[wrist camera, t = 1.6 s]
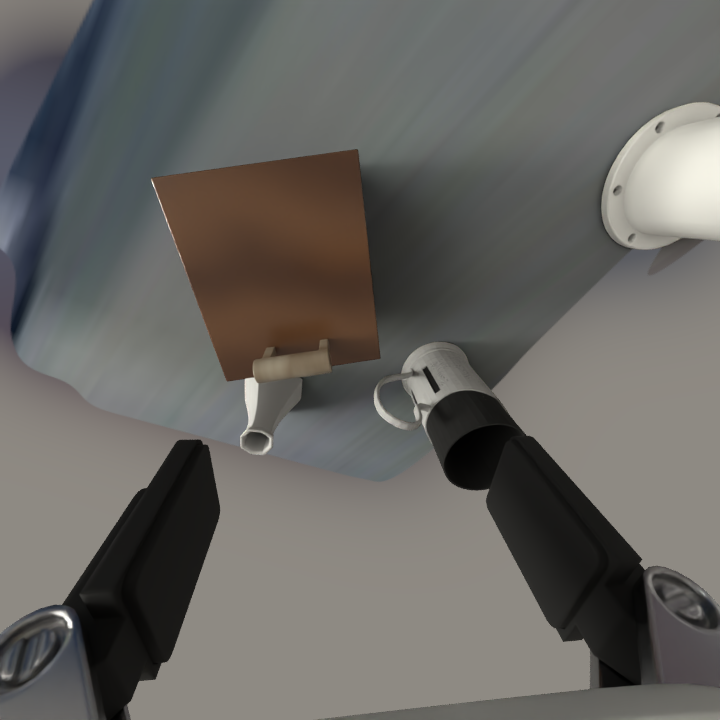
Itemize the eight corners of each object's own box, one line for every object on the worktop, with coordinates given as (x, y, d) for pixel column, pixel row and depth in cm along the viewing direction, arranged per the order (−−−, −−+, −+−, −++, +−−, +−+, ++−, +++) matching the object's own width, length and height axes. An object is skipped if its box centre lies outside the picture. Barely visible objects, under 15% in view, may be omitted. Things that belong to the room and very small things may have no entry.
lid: (379, 355, 28) (388, 385, 23) (229, 377, 28) (208, 412, 23) (357, 150, 21) (364, 135, 16) (156, 178, 21) (105, 171, 16)
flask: (312, 375, 38) (306, 427, 30) (290, 419, 41) (278, 478, 32) (255, 353, 37) (230, 401, 28) (236, 400, 39) (207, 457, 30)
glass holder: (447, 409, 42) (500, 503, 29) (350, 378, 39) (360, 469, 26) (481, 355, 39) (559, 433, 26) (379, 316, 36) (406, 383, 22)
